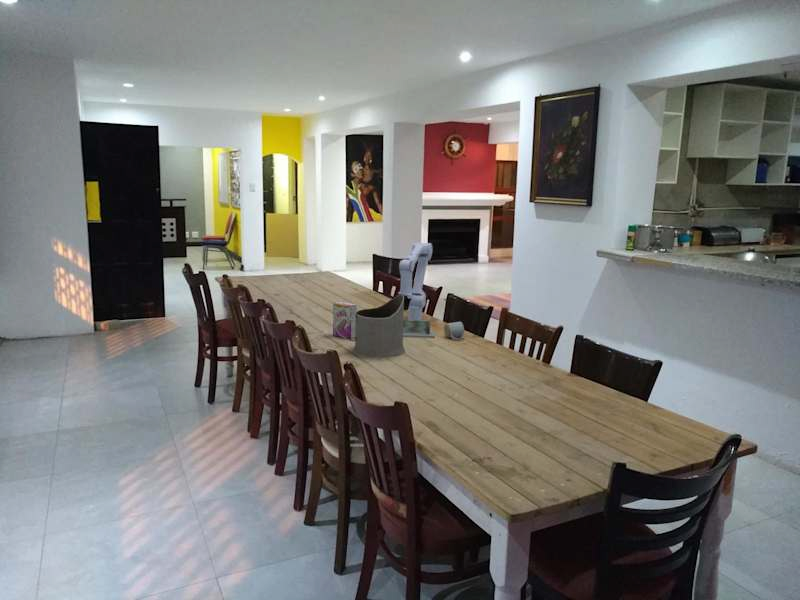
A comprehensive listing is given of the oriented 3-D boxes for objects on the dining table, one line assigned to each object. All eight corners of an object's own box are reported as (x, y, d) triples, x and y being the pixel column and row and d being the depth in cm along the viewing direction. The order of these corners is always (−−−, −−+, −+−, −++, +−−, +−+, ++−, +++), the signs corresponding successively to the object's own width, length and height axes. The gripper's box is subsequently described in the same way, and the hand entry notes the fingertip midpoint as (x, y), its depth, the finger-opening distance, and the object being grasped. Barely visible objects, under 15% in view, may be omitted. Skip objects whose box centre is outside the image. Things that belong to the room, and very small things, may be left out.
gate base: (393, 332, 306) (394, 319, 305) (433, 334, 306) (434, 320, 304) (393, 336, 298) (393, 322, 297) (434, 337, 298) (434, 323, 297)
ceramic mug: (443, 335, 302) (443, 320, 301) (458, 335, 305) (459, 320, 303) (451, 341, 292) (451, 326, 291) (466, 340, 295) (467, 325, 293)
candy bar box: (332, 336, 297) (332, 302, 294) (338, 334, 301) (338, 301, 298) (350, 339, 291) (351, 305, 288) (357, 337, 296) (357, 304, 292)
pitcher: (411, 356, 265) (413, 300, 260) (339, 360, 256) (339, 302, 252) (397, 343, 287) (398, 290, 282) (330, 346, 278) (330, 292, 273)
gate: (401, 331, 303) (401, 320, 302) (401, 331, 304) (401, 319, 303) (429, 332, 302) (430, 321, 301) (429, 331, 304) (430, 320, 303)
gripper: (394, 281, 314) (394, 307, 317) (402, 286, 300) (402, 313, 303) (407, 281, 316) (407, 307, 319) (416, 285, 302) (415, 312, 305)
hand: (405, 310), depth 311 cm, fingers closed
